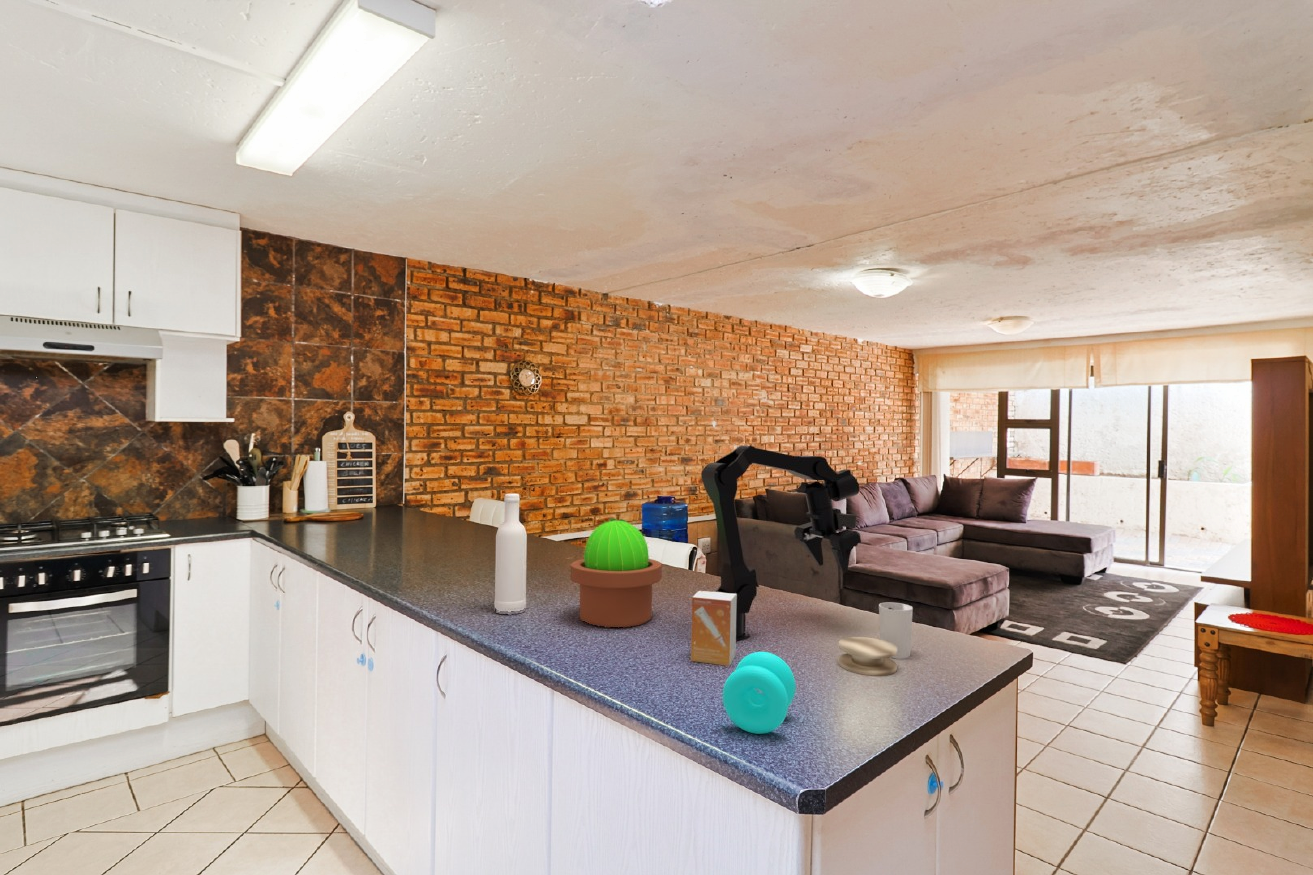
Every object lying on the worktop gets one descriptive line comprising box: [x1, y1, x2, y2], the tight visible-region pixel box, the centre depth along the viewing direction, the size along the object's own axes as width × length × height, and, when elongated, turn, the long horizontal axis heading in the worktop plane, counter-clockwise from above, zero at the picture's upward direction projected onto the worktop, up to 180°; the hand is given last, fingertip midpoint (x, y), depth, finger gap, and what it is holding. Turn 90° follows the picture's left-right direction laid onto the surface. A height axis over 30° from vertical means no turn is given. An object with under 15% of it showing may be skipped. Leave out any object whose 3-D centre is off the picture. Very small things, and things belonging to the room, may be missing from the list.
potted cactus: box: [570, 518, 663, 629], centre depth 159 cm, size 22×22×25 cm
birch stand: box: [838, 636, 898, 677], centre depth 127 cm, size 11×11×4 cm
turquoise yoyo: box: [722, 651, 797, 735], centre depth 100 cm, size 10×10×10 cm
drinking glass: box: [878, 601, 914, 660], centre depth 134 cm, size 7×7×10 cm
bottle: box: [494, 493, 528, 612], centre depth 164 cm, size 8×8×30 cm
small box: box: [690, 590, 737, 667], centre depth 130 cm, size 8×6×13 cm
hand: (832, 568), depth 156 cm, fingers open, 9 cm apart
